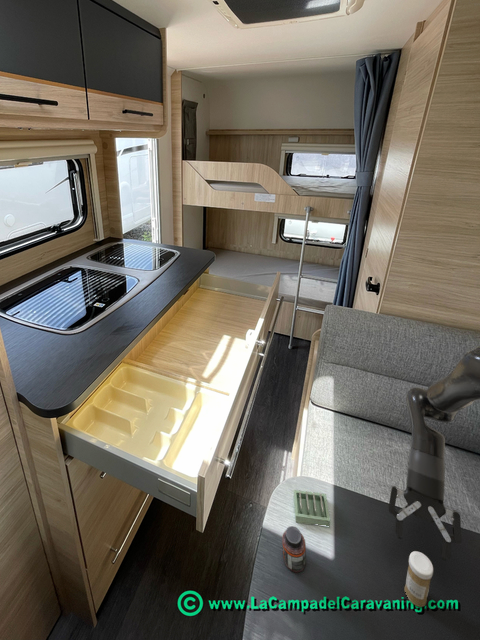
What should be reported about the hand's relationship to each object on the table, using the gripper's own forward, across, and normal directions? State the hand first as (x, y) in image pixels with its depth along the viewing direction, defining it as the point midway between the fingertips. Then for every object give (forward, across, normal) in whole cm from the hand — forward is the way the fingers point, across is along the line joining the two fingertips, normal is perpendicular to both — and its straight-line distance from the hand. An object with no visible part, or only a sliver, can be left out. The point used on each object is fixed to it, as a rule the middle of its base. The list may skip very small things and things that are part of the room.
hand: (421, 547), depth 77 cm
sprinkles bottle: (+12, 0, +7) cm, 14 cm away
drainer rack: (+6, -26, +12) cm, 30 cm away
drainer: (+6, -26, +12) cm, 30 cm away
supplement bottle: (+17, -27, +2) cm, 32 cm away
